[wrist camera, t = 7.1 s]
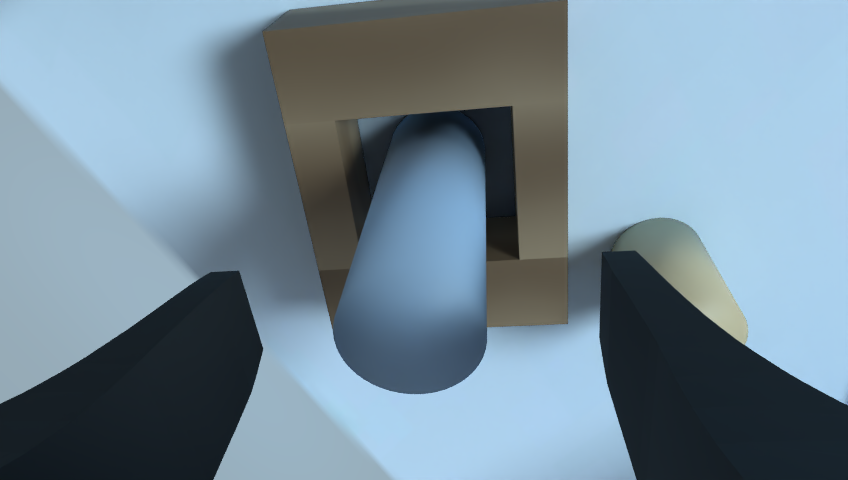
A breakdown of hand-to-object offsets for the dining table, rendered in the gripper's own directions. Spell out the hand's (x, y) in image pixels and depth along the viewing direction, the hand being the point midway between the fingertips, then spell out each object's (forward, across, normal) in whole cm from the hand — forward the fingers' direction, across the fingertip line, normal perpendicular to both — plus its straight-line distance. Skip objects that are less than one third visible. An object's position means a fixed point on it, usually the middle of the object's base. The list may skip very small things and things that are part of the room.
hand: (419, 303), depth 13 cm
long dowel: (+7, 0, 0) cm, 7 cm away
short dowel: (+7, -6, +4) cm, 10 cm away
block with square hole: (+7, 0, 0) cm, 7 cm away
